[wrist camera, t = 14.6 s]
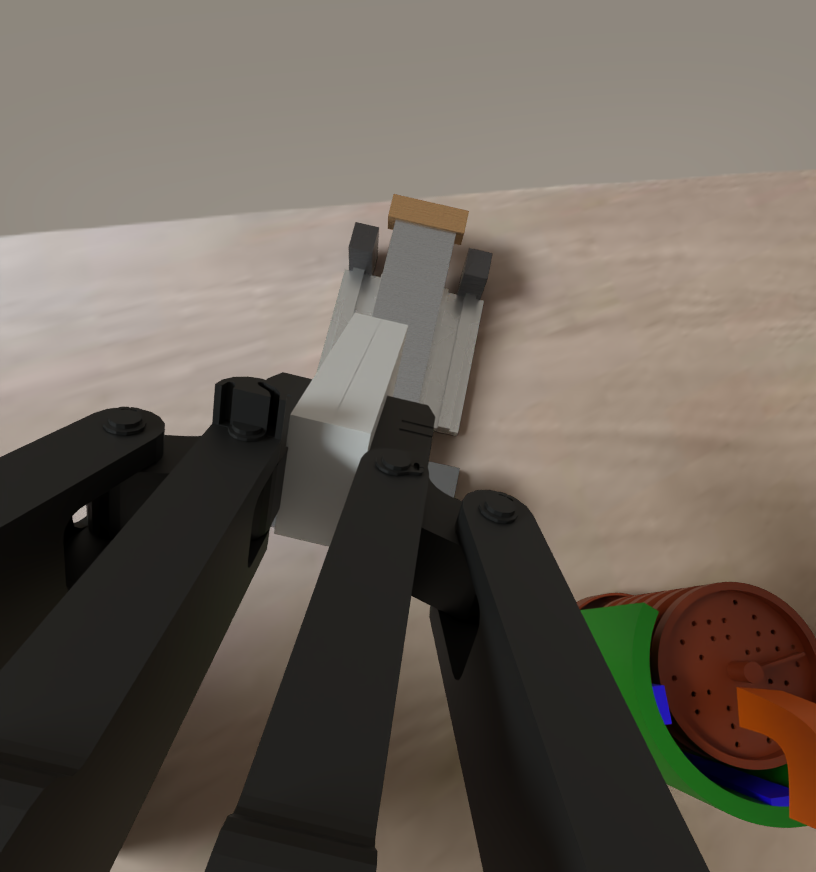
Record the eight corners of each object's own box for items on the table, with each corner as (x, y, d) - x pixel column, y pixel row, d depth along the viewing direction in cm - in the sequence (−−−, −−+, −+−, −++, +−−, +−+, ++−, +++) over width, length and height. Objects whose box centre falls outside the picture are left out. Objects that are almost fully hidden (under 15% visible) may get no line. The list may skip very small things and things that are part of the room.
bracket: (493, 282, 46) (509, 242, 41) (439, 564, 39) (450, 555, 35) (345, 249, 45) (343, 205, 41) (267, 525, 39) (255, 512, 35)
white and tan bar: (401, 521, 39) (466, 227, 43) (403, 518, 37) (471, 208, 40) (319, 502, 39) (391, 210, 43) (315, 499, 36) (392, 190, 40)
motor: (673, 587, 40) (958, 552, 21) (705, 740, 38) (1061, 857, 19) (518, 602, 39) (669, 581, 20) (540, 760, 37) (738, 908, 18)
